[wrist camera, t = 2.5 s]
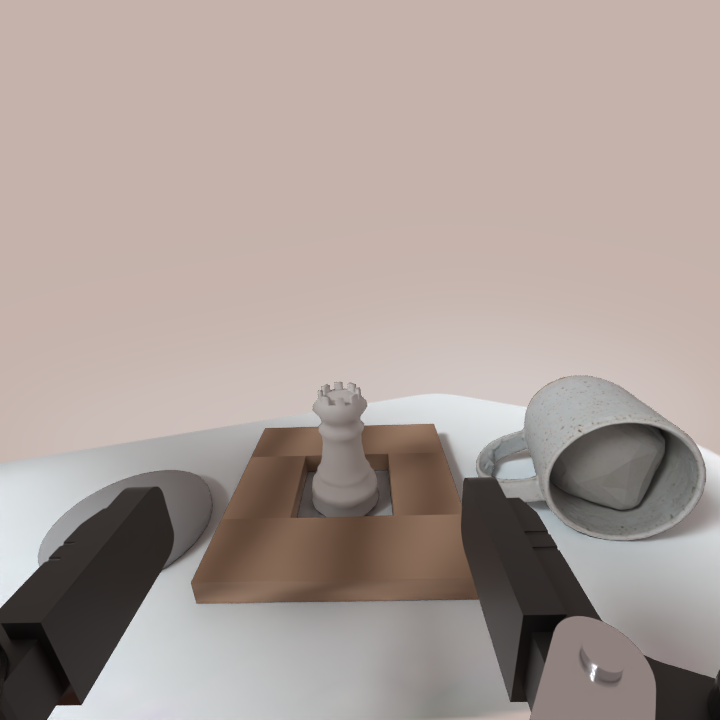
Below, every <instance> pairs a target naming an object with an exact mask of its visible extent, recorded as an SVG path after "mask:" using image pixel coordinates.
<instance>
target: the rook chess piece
mask: <svg viewBox="0 0 720 720" xmlns="http://www.w3.org/2000/svg"><path fill="white" fill-rule="evenodd" d="M334 385H335V389H333V390H330V386H329V385H328V384H326V385H324V386H322V387H321V390H318V399H317V400H316V402H315V403H314V404H313V411H314V412H315V413H316V414H317V415H318V416H319V417H320V418H321V421H322V423H321V424H320V426H319V433H320V434H321V435H322V438H323V450H322V460H321V463H320V465H319V466H318V468H317V472H316V474H315V475H314V477H313V481H312V491H313V492H312V503H313V504H314V506H315V508H316V510H317V511H319V512H320V513H321V514H323V515H324V516H326V517H354V516H365V515H366V514H367V513H368V512H369V511H370V510H371V509H372V508H373V507H374V506H375V505H376V503H377V501H378V498H379V491H378V481H377V477H376V474H375V471H374V470H373V469H372V468H371V467H370V463H369V462H368V461H367V460H366V458H365V455H364V451H363V446H362V438H361V433H362V431H363V429H364V423H363V422H362V421H361V420H360V416H361V414H362V413H363V412H364V410H365V409H366V407H367V402H366V400H365V399H364V398H363V397H362V396H361V393H360V388H356V384H353V383H348V389H343V387H342V382H335V383H334Z"/></svg>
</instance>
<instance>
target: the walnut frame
mask: <svg viewBox="0 0 720 720" xmlns="http://www.w3.org/2000/svg"><path fill="white" fill-rule="evenodd" d="M361 438H362V446H363V451H364V455H365V458H366V460H367V461H368V462H369V463H370V467H371V468H372V469H373V470H388V471H389V481H390V491H391V502H392V512H393V516H354V517H306V518H297V515H298V511H299V506H300V502H301V498H302V493H303V489H304V484H305V480H306V476H307V472H316V471H317V468H318V466H319V465H320V463H321V460H322V450H323V438H322V435H321V434H320V433H319V427H297V428H265V430H264V432H263V434H262V436H261V438H260V440H259V442H258V444H257V446H256V448H255V450H254V452H253V454H252V457H251V459H250V461H249V463H248V465H247V467H246V469H245V471H244V473H243V475H242V477H241V479H240V482H239V484H238V486H237V488H236V490H235V492H234V494H233V496H232V498H231V500H230V502H229V504H228V507H227V509H226V511H225V513H224V515H223V517H222V519H221V521H220V523H219V525H218V527H217V529H216V531H215V534H214V536H213V538H212V540H211V542H210V544H209V546H208V548H207V550H206V552H205V554H204V556H203V559H202V561H201V563H200V565H199V567H198V569H197V571H196V573H195V575H194V577H193V579H192V581H191V585H192V589H193V592H194V596H195V600H196V603H255V602H321V601H387V600H453V599H479V597H478V594H477V591H476V587H475V584H474V581H473V578H472V574H471V571H470V568H469V564H468V561H467V558H466V555H465V551H464V547H463V542H462V535H461V514H462V504H461V501H460V498H459V496H458V493H457V490H456V487H455V484H454V481H453V478H452V475H451V472H450V469H449V466H448V463H447V461H446V458H445V455H444V452H443V449H442V446H441V443H440V440H439V437H438V434H437V431H436V429H435V426H434V424H411V425H373V426H364V429H363V431H362V433H361Z"/></svg>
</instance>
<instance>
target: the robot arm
mask: <svg viewBox="0 0 720 720" xmlns="http://www.w3.org/2000/svg"><path fill="white" fill-rule="evenodd" d="M461 535H462V542H463V547H464V551H465V555H466V558H467V561H468V564H469V568H470V571H471V574H472V578H473V581H474V584H475V587H476V591H477V594H478V597H479V601H480V604H481V607H482V610H483V614H484V617H485V620H486V624H487V627H488V630H489V633H490V637H491V640H492V643H493V647H494V650H495V653H496V656H497V660H498V663H499V666H500V669H501V673H502V676H503V679H504V683H505V686H506V689H507V692H508V696H509V699H510V702H528V704H529V707H530V710H531V716H530V720H720V670H719V672H718V674H717V677H716V679H715V678H711V677H708V676H705V675H701V674H698V673H695V672H691V671H688V670H685V669H681V668H678V667H675V666H671V665H668V664H665V663H662V662H659V661H656V660H653V659H651V658H649V657H647V656H645V655H643V654H642V653H641V652H640V650H639V649H638V648H637V647H636V646H635V645H634V644H633V643H632V641H631V640H629V639H628V638H627V637H626V636H625V635H624V634H622V633H621V632H619V631H618V630H617V629H615V628H614V627H612V626H610V625H608V624H606V623H604V622H603V621H602V620H601V618H600V617H599V615H598V614H597V612H596V611H595V609H594V607H593V606H592V604H591V602H590V601H589V599H588V597H587V596H586V594H585V592H584V591H583V589H582V587H581V586H580V584H579V582H578V581H577V579H576V577H575V576H574V574H573V572H572V571H571V569H570V567H569V566H568V564H567V562H566V561H565V559H564V557H563V555H562V554H561V552H560V550H558V549H557V545H556V544H555V542H554V540H553V539H552V537H551V535H550V534H548V530H547V529H546V527H545V525H544V524H543V522H542V520H541V519H540V517H539V515H538V514H537V512H536V511H534V510H533V509H532V508H531V507H530V506H529V505H527V504H526V503H525V502H524V501H523V500H522V499H520V498H519V497H518V498H506V496H505V494H504V492H503V490H502V488H501V486H500V484H499V482H498V481H497V479H496V478H495V477H478V478H465V479H464V483H463V497H462V514H461ZM173 544H174V530H173V526H172V523H171V519H170V516H169V512H168V509H167V505H166V502H165V498H164V494H163V492H162V490H161V489H160V488H159V487H157V486H154V487H128V488H126V489H124V490H123V491H122V492H121V493H120V494H119V495H118V496H117V497H116V498H115V499H114V500H113V501H112V503H111V504H110V505H109V506H108V507H107V508H103V509H102V510H100V511H99V512H97V513H96V514H95V515H93V516H92V517H90V518H89V519H87V520H86V521H84V522H83V523H82V524H80V525H79V526H78V527H77V529H76V530H75V531H74V532H73V533H72V534H71V535H70V536H69V537H68V538H67V539H66V540H65V541H64V544H63V546H59V547H58V548H57V549H56V550H55V552H54V553H53V554H52V555H51V556H50V557H49V560H48V561H47V562H44V563H43V564H42V565H41V566H40V567H39V568H38V569H37V570H36V571H35V572H34V574H33V575H32V576H31V577H30V578H29V579H28V580H27V581H26V582H25V583H24V584H23V585H22V586H21V587H20V588H19V589H18V590H17V591H16V592H15V593H14V594H13V595H12V597H11V598H10V599H9V600H8V601H7V602H6V603H5V604H4V605H3V606H2V607H1V608H0V720H47V719H48V717H49V716H50V714H51V713H52V711H53V709H54V708H55V706H56V705H82V703H83V702H84V700H85V698H86V697H87V695H88V693H89V691H90V690H91V688H92V686H93V685H94V683H95V681H96V680H97V678H98V676H99V675H100V673H101V671H102V670H103V668H104V666H105V664H106V663H107V661H108V659H109V658H110V656H111V654H112V653H113V651H114V649H115V648H116V646H117V644H118V643H119V641H120V639H121V637H122V636H123V634H124V632H125V631H126V629H127V627H128V626H129V624H130V622H131V621H132V619H133V617H134V616H135V614H136V612H137V611H138V609H139V607H140V605H141V604H142V602H143V600H144V599H145V597H146V595H147V594H148V592H149V590H150V589H151V587H152V585H153V584H154V582H155V580H156V578H157V577H158V575H159V573H160V572H161V570H162V568H163V567H164V565H165V563H166V562H167V560H168V558H169V556H170V554H171V552H172V548H173Z"/></svg>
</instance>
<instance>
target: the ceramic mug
mask: <svg viewBox="0 0 720 720" xmlns="http://www.w3.org/2000/svg"><path fill="white" fill-rule="evenodd" d="M525 449H529V452H530V456H531V457H532V460H533V464H534V468H535V472H536V476H535V477H532V478H528V479H511V480H507V479H498V478H496V479H497V481H498V482H499V484H500V486H501V488H502V490H503V492H504V494H505V496H506V498H518V497H519V498H520V499H522V500H523V501H524V502H536V501H544V500H545V501H546V503H547V504H548V506H549V508H550V509H551V511H552V512H553V513H554V514H555V515H556V516H557V517H558V518H559V519H560V520H561V521H562V522H564V523H565V524H566V525H568V526H569V527H571V528H573V529H574V530H576V531H579V532H581V533H584V534H587V535H589V536H592V537H597V538H601V539H607V540H623V541H627V540H635V539H642V538H647V537H650V536H653V535H656V534H659V533H662V532H664V531H666V530H668V529H670V528H672V527H674V526H675V525H677V524H678V523H679V522H681V521H682V520H683V519H684V518H685V517H686V516H687V515H688V514H689V513H690V512H691V511H692V510H693V508H694V507H695V506H696V504H697V503H698V501H699V499H700V497H701V495H702V493H703V490H704V485H705V482H706V468H705V463H704V460H703V458H702V455H701V452H700V450H699V449H698V447H697V445H696V444H695V442H694V441H693V440H692V438H690V437H689V435H688V434H686V433H685V432H684V431H682V430H681V429H680V428H678V427H677V426H676V425H674V424H673V423H671V422H670V421H668V420H667V419H665V418H664V417H663V416H661V415H660V414H658V413H657V412H656V411H654V410H653V409H652V408H650V407H649V406H647V405H646V404H645V403H643V402H641V401H640V400H639V399H637V398H636V397H635V396H634V395H632V394H630V393H629V392H628V391H626V390H625V389H624V388H622V387H620V386H618V385H616V384H614V383H612V382H609V381H607V380H604V379H601V378H596V377H593V376H569V377H564V378H560V379H558V380H556V381H554V382H551V383H549V384H547V385H546V386H544V387H543V388H542V389H541V390H539V391H538V392H537V393H536V394H535V395H534V397H533V398H532V399H531V401H530V403H529V405H528V407H527V410H526V414H525V421H524V429H523V430H522V431H518V432H515V433H512V434H509V435H506V436H503V437H501V438H498V439H496V440H494V441H492V442H491V443H489V444H488V445H487V446H486V447H485V448H484V449H483V450H482V451H481V452H480V454H479V456H478V459H477V462H476V471H477V474H478V477H492V470H493V469H494V464H495V463H496V462H497V461H499V460H500V459H501V458H504V457H506V456H508V455H510V454H513V453H516V452H519V451H522V450H525Z"/></svg>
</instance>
